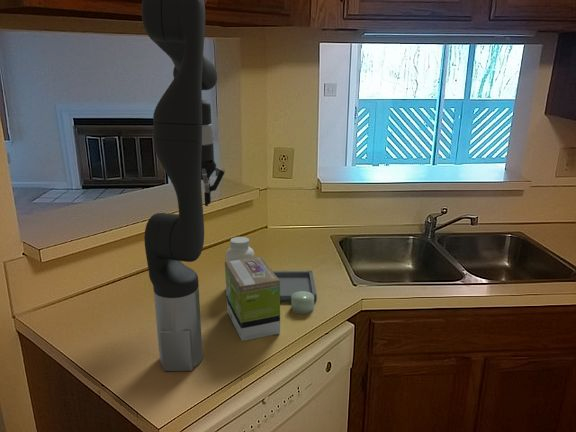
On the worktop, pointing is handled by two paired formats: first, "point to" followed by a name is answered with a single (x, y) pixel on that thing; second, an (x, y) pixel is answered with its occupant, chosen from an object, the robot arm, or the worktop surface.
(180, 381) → the worktop surface
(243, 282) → the tea box
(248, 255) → the pill bottle
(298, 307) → the squat mint cylinder
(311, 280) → the tray
